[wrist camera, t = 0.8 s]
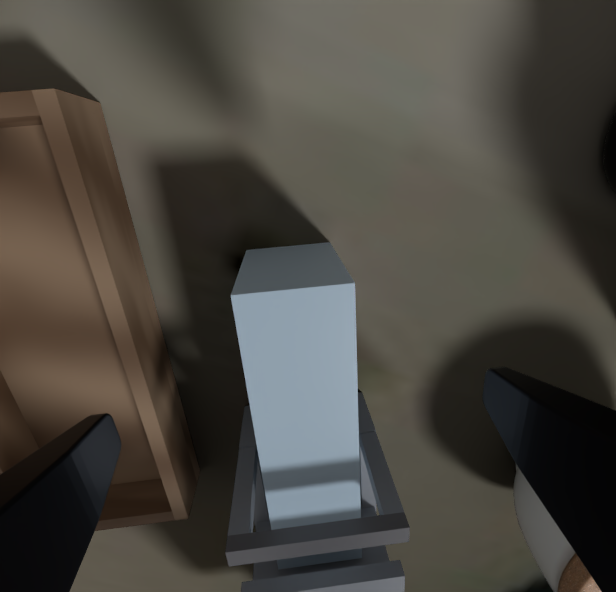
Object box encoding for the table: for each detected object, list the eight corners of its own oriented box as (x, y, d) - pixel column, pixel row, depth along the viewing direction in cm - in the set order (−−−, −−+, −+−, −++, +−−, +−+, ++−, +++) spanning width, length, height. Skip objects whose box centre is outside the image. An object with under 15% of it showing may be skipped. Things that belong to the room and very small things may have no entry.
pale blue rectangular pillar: (340, 456, 22) (362, 558, 16) (278, 464, 22) (278, 569, 16) (329, 241, 17) (354, 283, 11) (246, 249, 16) (230, 295, 11)
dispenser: (364, 473, 22) (405, 624, 15) (259, 487, 22) (250, 647, 15) (361, 392, 20) (409, 525, 13) (244, 406, 20) (224, 550, 12)
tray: (200, 471, 21) (188, 518, 18) (60, 488, 21) (26, 540, 18) (100, 103, 14) (54, 88, 11) (-123, 120, 13) (-229, 109, 10)
